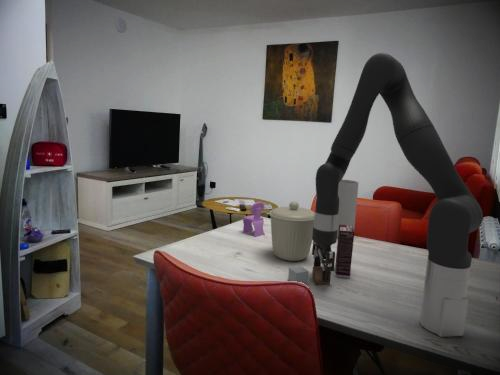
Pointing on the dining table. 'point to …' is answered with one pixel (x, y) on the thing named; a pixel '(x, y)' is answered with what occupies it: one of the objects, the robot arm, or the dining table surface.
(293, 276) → the slate cube
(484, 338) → the dining table surface
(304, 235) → the canister
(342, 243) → the supplement box
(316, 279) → the walnut cube
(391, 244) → the dining table surface
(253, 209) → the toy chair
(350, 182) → the cylinder vase
